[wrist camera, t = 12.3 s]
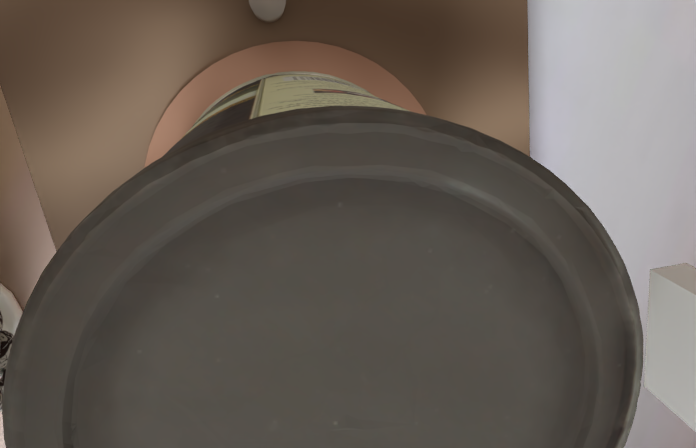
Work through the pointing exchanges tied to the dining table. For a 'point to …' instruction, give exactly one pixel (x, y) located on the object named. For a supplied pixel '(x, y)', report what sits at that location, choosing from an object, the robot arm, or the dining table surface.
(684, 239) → the dining table surface
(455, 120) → the pin board
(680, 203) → the dining table surface
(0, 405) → the decorative candle
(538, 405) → the coffee can
